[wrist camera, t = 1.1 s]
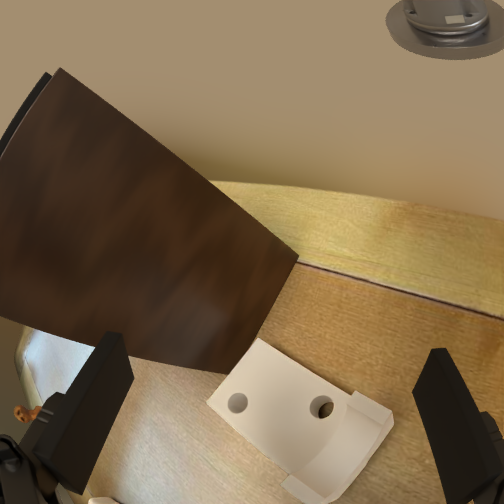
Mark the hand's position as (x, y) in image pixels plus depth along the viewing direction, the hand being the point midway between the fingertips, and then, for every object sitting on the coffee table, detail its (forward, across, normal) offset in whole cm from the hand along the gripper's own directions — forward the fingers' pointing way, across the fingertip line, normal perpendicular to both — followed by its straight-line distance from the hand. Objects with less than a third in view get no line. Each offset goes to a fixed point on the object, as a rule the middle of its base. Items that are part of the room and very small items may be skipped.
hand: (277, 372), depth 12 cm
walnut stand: (+20, -6, -8) cm, 23 cm away
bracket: (+7, +4, -12) cm, 14 cm away
